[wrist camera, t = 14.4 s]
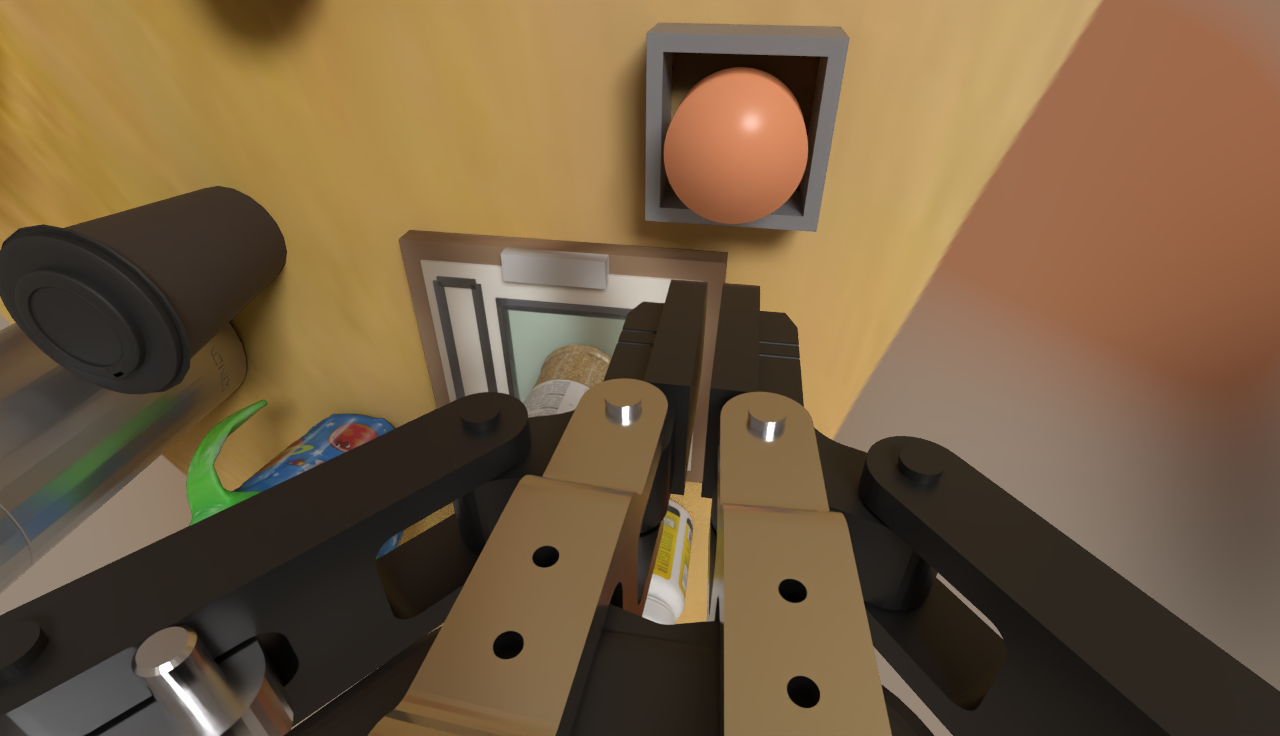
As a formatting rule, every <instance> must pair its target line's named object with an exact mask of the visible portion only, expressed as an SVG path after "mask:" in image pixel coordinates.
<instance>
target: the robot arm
mask: <svg viewBox="0 0 1280 736" xmlns="http://www.w3.org/2000/svg"><path fill="white" fill-rule="evenodd" d="M707 294H708V282H700V281H687V280H674V279H671V282H670V285H669V289H668V293H667V296H666V300H665V303H656V302H642V303H640V304H639V305H638V306H637V307H635V308H634V309H633V310H632V311H630V312H629V313H628V314H627V317H626V320H625V323H624V325H623V328H622V331H621V334H620V336H619V339H618V344H617V345H616V347H615V350H614V353H613V356H612V358H611V361H610V364H609V367H608V369H607V372H606V375H605V378H604V381H603V382H601V383H598V384H596V385H594V386H592V387H591V388H590V389H588V390H587V391H586V392H585V393H584V394H583V396H582V397H581V399H580V401H579V403H578V405H577V407H576V409H575V410H572V411H569V412H565V413H561V414H555V415H546V416H538V417H529V418H528V412H527V409H526V407H525V405H524V404H523V403H522V402H521V401H520V400H519V399H517V398H515V397H513V396H511V395H508V394H504V393H498V392H482V393H475V394H471V395H467V396H464V397H462V398H459V399H457V400H455V401H453V402H451V403H449V404H446V405H444V406H442V407H440V408H438V409H436V410H434V411H432V412H430V413H427V414H425V415H423V416H421V417H419V418H417V419H415V420H413V421H410V422H408V423H406V424H404V425H402V426H400V427H398V428H396V429H394V430H391V431H389V432H387V433H385V434H383V435H381V436H379V437H377V438H375V439H372V440H370V441H368V442H366V443H364V444H362V445H360V446H358V447H355V448H353V449H351V450H349V451H347V452H345V453H343V454H341V455H339V456H336V457H334V458H332V459H330V460H328V461H326V462H324V463H322V464H320V465H317V466H315V467H313V468H311V469H309V470H307V471H305V472H303V473H300V474H298V475H296V476H294V477H292V478H290V479H288V480H286V481H284V482H281V483H279V484H277V485H275V486H273V487H271V488H269V489H267V490H265V491H262V492H260V493H258V494H256V495H254V496H252V497H250V498H248V499H245V500H243V501H241V502H239V503H237V504H235V505H233V506H231V507H229V508H226V509H224V510H222V511H220V512H218V513H216V514H214V515H212V516H210V517H207V518H205V519H203V520H201V521H199V522H197V523H195V524H193V525H190V526H188V527H186V528H184V529H182V530H180V531H178V532H176V533H174V534H171V535H169V536H167V537H165V538H163V539H161V540H159V541H157V542H155V543H152V544H150V545H148V546H146V547H144V548H142V549H140V550H138V551H136V552H133V553H131V554H129V555H127V556H125V557H123V558H121V559H119V560H116V561H115V562H112V563H110V564H108V565H106V566H104V567H102V568H100V569H98V570H95V571H93V572H91V573H89V574H87V575H85V576H83V577H81V578H78V579H76V580H74V581H72V582H70V583H68V584H66V585H64V586H61V587H60V588H57V589H55V590H53V591H51V592H49V593H47V594H45V595H42V596H40V597H38V598H36V599H34V600H32V601H30V602H28V603H26V604H23V605H21V606H19V607H17V608H15V609H13V610H11V611H9V612H6V613H5V614H3V615H1V616H0V736H934V735H933V734H932V732H931V731H930V730H929V729H928V728H927V727H926V725H925V724H924V723H923V722H922V721H921V720H920V719H919V718H918V716H917V715H916V714H915V713H914V712H912V710H910V709H909V708H908V707H907V706H906V705H905V704H904V703H903V702H902V701H901V700H900V699H899V698H898V697H896V696H895V695H894V694H893V693H892V692H890V691H889V690H888V689H887V688H885V687H884V686H883V685H881V681H880V676H879V672H878V667H877V662H876V657H875V653H874V648H873V646H874V647H875V648H876V649H877V650H878V652H879V653H880V654H881V655H882V656H883V657H884V658H885V659H886V661H887V662H888V663H889V664H890V665H891V666H892V667H893V668H894V670H895V671H896V672H897V673H898V674H899V675H900V676H901V678H902V679H903V680H904V681H905V682H906V683H907V684H908V685H909V686H910V688H911V689H912V690H913V691H914V692H915V693H916V694H917V696H918V697H919V698H920V699H921V700H922V701H923V702H924V703H925V705H926V706H927V707H928V708H929V709H930V710H931V711H932V712H933V713H934V715H935V716H936V717H937V718H938V719H939V720H940V721H941V722H942V724H943V725H944V726H945V727H946V728H947V729H948V730H949V732H950V733H951V734H952V735H953V736H1280V691H1278V690H1277V689H1275V688H1274V687H1273V686H1272V685H1270V684H1269V683H1267V682H1266V681H1265V680H1263V679H1262V678H1261V677H1259V676H1258V675H1257V674H1255V673H1254V672H1252V671H1251V670H1250V669H1248V668H1247V667H1245V666H1244V665H1243V664H1241V663H1240V662H1239V661H1237V660H1236V659H1235V658H1233V657H1232V656H1231V655H1229V654H1228V653H1226V652H1225V651H1224V650H1222V649H1221V648H1220V647H1218V646H1217V645H1215V644H1214V643H1213V642H1211V641H1210V640H1209V639H1207V638H1206V637H1204V636H1203V635H1202V634H1200V633H1199V632H1198V631H1196V630H1195V629H1194V628H1192V627H1191V626H1189V625H1188V624H1187V623H1185V622H1184V621H1183V620H1181V619H1180V618H1179V617H1177V616H1176V615H1174V614H1173V613H1172V612H1170V611H1169V610H1168V609H1166V608H1165V607H1163V606H1162V605H1161V604H1159V603H1158V602H1157V601H1155V600H1154V599H1153V598H1151V597H1150V596H1148V595H1147V594H1146V593H1144V592H1143V591H1141V590H1140V589H1139V588H1137V587H1136V586H1135V585H1133V584H1132V583H1131V582H1129V581H1128V580H1126V579H1125V578H1124V577H1122V576H1121V575H1120V574H1118V573H1117V572H1116V571H1114V570H1113V569H1111V568H1110V567H1109V566H1107V565H1106V564H1105V563H1103V562H1102V561H1101V560H1099V559H1098V558H1096V557H1095V556H1093V555H1092V554H1091V553H1090V552H1088V551H1087V550H1085V549H1084V548H1083V547H1081V546H1080V545H1079V544H1077V543H1076V542H1075V541H1073V540H1072V539H1070V538H1069V537H1068V536H1066V535H1065V534H1064V533H1062V532H1061V531H1059V530H1058V529H1057V528H1055V527H1054V526H1053V525H1051V524H1050V523H1049V522H1047V521H1046V520H1044V519H1043V518H1042V517H1040V516H1039V515H1037V514H1036V513H1035V512H1033V511H1032V510H1031V509H1029V508H1028V507H1027V506H1025V505H1024V504H1023V503H1021V502H1020V501H1018V500H1017V499H1016V498H1014V497H1013V496H1012V495H1010V494H1009V493H1007V492H1006V491H1005V490H1003V489H1002V488H1000V487H999V486H998V485H997V484H995V483H994V482H992V481H991V480H990V479H988V478H987V477H985V476H984V475H983V474H981V473H980V472H979V471H977V470H976V469H975V468H973V467H972V466H970V465H969V464H968V463H966V462H965V461H964V460H962V459H961V458H960V457H958V456H957V455H955V454H954V453H953V452H951V451H949V450H948V449H946V448H944V447H942V446H940V445H938V444H936V443H934V442H931V441H928V440H924V439H921V438H916V437H908V436H895V437H889V438H885V439H882V440H880V441H878V442H876V443H875V444H874V445H872V446H871V448H870V449H869V451H868V453H866V452H863V451H860V450H857V449H854V448H851V447H848V446H845V445H842V444H840V443H837V442H835V441H833V440H831V439H829V438H828V437H826V436H824V435H823V434H821V433H820V432H819V431H818V430H816V429H815V428H814V425H813V421H812V417H811V416H810V414H809V412H808V411H807V410H806V409H805V408H804V404H803V392H802V379H801V367H800V360H799V358H800V354H799V347H798V345H799V342H798V329H797V327H796V326H795V324H794V323H793V322H792V321H791V319H790V318H789V317H788V316H787V315H786V313H779V312H767V311H760V286H754V285H741V284H728V283H723V287H722V295H721V304H720V312H719V320H718V328H717V336H716V345H715V353H714V361H713V369H712V378H711V386H710V397H709V409H708V421H707V433H706V445H705V457H704V469H703V481H702V494H701V497H705V498H712V508H711V519H710V529H709V544H708V588H707V622H696V623H685V624H674V625H665V624H659V623H656V622H654V621H651V620H649V619H646V618H644V617H642V615H643V611H644V607H645V603H646V599H647V595H648V591H649V587H650V582H651V578H652V574H653V570H654V566H655V562H656V558H657V554H658V550H659V546H660V542H661V538H662V534H663V527H664V517H665V515H666V513H667V510H668V505H669V499H670V494H679V495H684V489H685V482H686V475H687V469H688V462H689V455H690V448H691V441H692V434H693V428H694V421H695V414H696V407H697V400H698V393H699V386H700V379H701V371H702V361H703V350H704V336H705V322H706V308H707ZM246 370H247V367H246V356H245V353H244V350H243V346H242V343H241V342H240V340H239V338H238V336H237V334H236V332H235V330H234V329H233V327H232V326H231V325H230V323H229V322H228V323H227V324H226V325H225V326H224V327H223V328H222V329H221V330H220V331H219V332H218V333H217V334H216V335H215V336H214V337H213V338H212V339H211V340H210V341H209V342H208V343H207V344H206V345H205V346H204V347H203V348H202V349H201V350H200V351H199V352H198V353H196V354H195V355H194V356H193V357H192V358H191V359H190V369H189V370H188V372H187V374H186V376H185V377H184V379H183V381H182V382H181V383H180V384H178V385H176V386H175V387H173V388H171V389H169V390H167V391H165V392H156V393H148V394H125V393H119V392H115V391H111V390H108V389H105V388H102V387H99V386H97V385H94V384H92V383H90V382H88V381H86V380H84V379H82V378H80V377H78V376H76V375H75V374H73V373H71V372H70V371H68V370H66V369H65V368H64V367H62V366H61V365H59V364H58V363H56V362H55V361H54V360H52V359H51V358H50V357H49V356H48V355H46V354H45V353H44V352H43V351H42V350H40V349H39V348H38V347H37V346H36V345H35V344H34V343H33V342H32V341H31V340H30V339H29V338H28V337H27V335H26V334H25V333H24V332H23V331H22V330H21V329H20V327H19V326H18V325H17V323H14V324H12V325H10V326H8V327H7V328H5V329H3V330H1V331H0V594H1V593H2V592H3V591H4V590H5V589H6V588H8V587H9V586H10V585H11V584H12V583H13V582H15V581H16V580H17V579H18V578H19V577H20V576H21V575H23V574H24V573H25V571H27V570H28V569H29V568H30V567H31V566H33V565H34V564H35V563H36V562H37V561H38V560H39V559H41V558H42V557H43V556H44V555H45V554H46V553H48V552H49V551H50V550H51V549H52V548H53V547H55V546H56V545H57V544H58V543H59V542H60V541H61V540H62V539H64V538H65V537H66V536H67V535H68V534H70V533H71V532H72V531H73V530H74V529H75V528H77V527H78V526H79V525H80V524H81V523H82V522H84V520H86V519H87V518H88V517H89V516H90V515H92V514H93V513H94V512H95V511H96V510H97V509H99V508H100V507H101V506H102V505H103V504H104V503H105V502H107V501H108V500H109V499H110V498H111V497H112V496H114V495H115V494H116V493H117V492H118V491H119V490H120V489H122V488H123V487H124V486H125V485H126V484H128V483H129V482H130V481H131V480H132V479H133V478H134V477H136V476H137V475H138V474H139V473H140V472H141V471H143V470H144V469H145V468H146V467H147V466H148V465H150V464H151V463H152V462H153V461H154V460H155V459H156V458H158V457H159V456H160V455H161V454H162V453H163V452H165V451H166V450H167V449H168V448H169V447H170V446H172V445H173V444H174V443H175V442H176V441H177V440H178V439H180V438H181V437H182V436H183V435H184V434H185V433H187V432H188V431H189V430H190V429H191V428H193V427H194V426H195V425H196V424H197V423H198V422H199V421H201V420H202V419H203V418H204V417H205V416H206V415H208V414H209V413H210V412H211V411H212V410H213V409H215V408H216V407H217V406H218V405H219V404H220V403H221V402H223V401H224V400H225V399H226V398H227V397H228V396H230V395H231V394H232V393H233V392H234V391H235V390H236V389H238V388H239V387H240V385H241V383H242V382H243V380H244V378H245V374H246ZM451 502H453V505H454V510H455V514H453V515H452V516H450V517H448V518H446V519H445V520H443V521H441V522H440V523H438V524H436V525H434V526H433V527H431V528H429V529H428V530H426V531H424V532H423V533H421V534H419V535H417V536H416V537H414V538H412V539H411V540H409V541H407V542H406V543H404V544H402V545H400V546H399V547H397V548H395V549H394V550H392V551H390V552H389V553H387V554H385V555H383V556H382V557H380V558H378V559H376V556H377V554H378V552H379V550H380V549H381V547H382V546H383V545H384V544H385V543H386V542H387V541H388V540H389V539H390V538H391V537H393V536H394V535H396V534H397V533H399V532H401V531H403V530H404V529H406V528H408V527H410V526H411V525H413V524H415V523H417V522H418V521H420V520H422V519H424V518H425V517H427V516H429V515H431V514H432V513H434V512H436V511H438V510H439V509H441V508H443V507H444V506H446V505H448V504H450V503H451ZM937 573H939V574H941V576H943V577H944V578H945V579H946V580H947V581H948V582H949V583H950V584H951V585H952V586H954V587H955V588H956V589H957V590H958V591H959V592H960V593H961V594H962V595H963V596H964V597H966V598H967V599H968V600H969V601H970V602H971V603H972V604H973V605H974V606H975V607H976V608H978V609H979V610H980V611H981V612H982V613H983V614H984V615H985V616H986V617H987V618H988V619H989V620H990V621H991V622H992V623H993V624H994V625H995V626H996V627H997V629H998V630H999V632H1000V634H1001V635H1002V637H1003V639H1004V640H1003V639H1002V638H1001V637H1000V636H999V635H998V634H996V633H995V632H994V631H993V630H992V629H991V628H990V627H989V626H988V625H987V624H986V623H985V622H983V621H982V620H981V619H980V618H979V617H978V616H977V615H976V614H975V613H974V612H973V611H972V610H971V609H970V608H968V607H967V606H966V605H965V604H964V603H963V602H962V601H961V600H960V599H959V598H958V597H957V596H956V595H954V594H953V593H952V592H951V591H950V590H949V589H948V588H947V587H946V586H945V585H944V584H942V582H940V581H939V580H938V579H937V578H936V575H937ZM442 623H444V624H443V626H441V627H440V628H438V629H436V630H434V631H433V632H431V631H432V630H433V629H435V628H437V627H438V626H439V625H441V624H442ZM429 632H431V633H429ZM428 633H429V634H428ZM426 634H427V635H426ZM387 661H388V662H387ZM384 663H385V664H384ZM380 666H381V667H380ZM377 668H378V669H377ZM374 670H375V671H374ZM373 671H374V672H373ZM371 672H372V673H371ZM370 673H371V674H370ZM367 675H368V676H367ZM365 676H366V677H365ZM364 677H365V678H364ZM363 678H364V679H363ZM361 679H362V680H361ZM360 680H361V681H360ZM358 681H359V682H358ZM357 682H358V683H357ZM355 683H357V684H355ZM354 684H355V685H354ZM353 685H354V686H353ZM351 686H353V687H351ZM350 687H351V688H350ZM348 688H350V689H348ZM346 689H348V690H347V691H346V692H344V691H345V690H346ZM342 692H344V693H343V694H341V693H342ZM339 694H341V695H340V696H338V695H339ZM337 696H338V697H337ZM335 697H337V698H336V699H334V698H335ZM332 699H334V700H333V701H331V700H332ZM329 701H331V702H330V703H329V704H327V705H326V706H324V705H325V704H326V703H328V702H329ZM322 706H324V707H323V708H322V709H320V710H319V711H318V712H316V713H314V714H313V715H312V716H310V717H309V718H308V719H306V720H305V721H303V722H302V723H300V724H299V725H298V726H296V727H295V728H293V729H292V730H291V728H292V727H293V726H295V725H296V724H297V723H299V722H300V721H302V720H303V719H305V718H306V717H308V716H309V715H311V714H312V713H313V712H315V711H316V710H318V709H319V708H321V707H322Z"/></svg>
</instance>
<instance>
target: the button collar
mask: <svg viewBox="0 0 1280 736" xmlns="http://www.w3.org/2000/svg"><path fill="white" fill-rule="evenodd" d="M848 43H849V37H848V35H847V34H846V33H845V32H844V30H843V29H842V28H841V27H817V26H773V25H730V24H687V23H658V24H656V25H655V26H654V27H653V28H652V29H650V30H649V31H648V32H647V59H646V180H645V221H658V222H674V223H689V224H705V225H720V226H735V227H751V228H766V229H782V230H797V231H813V232H816V230H817V224H818V219H819V213H820V207H821V201H822V195H823V189H824V184H825V178H826V172H827V166H828V160H829V154H830V148H831V143H832V137H833V131H834V125H835V119H836V113H837V108H838V102H839V96H840V90H841V84H842V78H843V73H844V67H845V61H846V55H847V49H848ZM673 52H686V53H721V54H755V55H790V56H820V62H819V68H818V75H817V82H816V88H815V95H814V102H813V108H812V115H811V122H810V128H809V135H808V158H807V163H806V168H805V171H804V174H803V177H802V182H801V188H800V192H799V191H794V193H793V194H792V195H791V197H790V198H789V199H788V200H787V201H786V202H785V203H784V204H783V205H782V206H781V207H780V208H778V209H777V210H775V211H774V212H773V213H771V214H769V215H767V216H765V217H763V218H761V219H758V220H755V221H752V222H748V223H741V224H725V223H719V222H715V221H711V220H708V219H706V218H703V217H702V216H700V215H698V214H696V213H695V212H693V211H692V210H691V209H689V208H688V207H687V206H686V205H685V204H684V203H683V202H682V201H681V200H680V199H679V197H678V196H677V195H676V193H675V192H674V190H673V188H672V187H671V184H669V180H668V177H667V174H666V170H665V164H664V143H665V139H666V134H667V131H668V128H669V125H670V123H671V90H672V56H673Z"/></svg>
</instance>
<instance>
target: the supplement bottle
mask: <svg viewBox="0 0 1280 736" xmlns="http://www.w3.org/2000/svg"><path fill="white" fill-rule="evenodd" d="M692 533H693V523H692V519H691V517H690V515H689V513H688V512H687V511H686V510H685V509H684V508H683V507H682V506H680V505H679V504H677V503H676V502H674V501H672V500H670V499H669V505H668V510H667V513H666V515H665V517H664V527H663V534H662V538H661V542H660V546H659V550H658V554H657V558H656V562H655V566H654V570H653V574H652V578H651V582H650V587H649V591H648V595H647V599H646V603H645V607H644V611H643V615H642V617H644V618H646V619H649V620H651V621H654V622H656V623H659V624H665V625H674V624H676V620H677V619H678V617H679V616H680V615H681V613H682V611H683V608H684V603H685V594H686V585H687V577H688V568H689V560H690V551H691V542H692Z"/></svg>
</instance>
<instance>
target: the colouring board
mask: <svg viewBox="0 0 1280 736" xmlns="http://www.w3.org/2000/svg"><path fill="white" fill-rule="evenodd" d="M399 243H400V248H401V252H402V256H403V261H404V265H405V270H406V274H407V278H408V283H409V287H410V292H411V296H412V300H413V305H414V309H415V313H416V318H417V322H418V327H419V331H420V335H421V340H422V344H423V349H424V353H425V357H426V362H427V366H428V371H429V375H430V379H431V384H432V388H433V392H434V397H435V401H436V406H437V409H438V408H440V407H442V406H444V405H446V404H449V403H451V402H453V401H455V400H457V399H459V398H462V397H464V396H467V395H471V394H475V393H482V392H498V393H504V394H508V395H511V396H513V397H515V398H517V399H519V400H520V401H521V402H522V403H524V401H525V399H526V398H527V396H528V394H529V393H530V392H531V391H532V389H533V387H534V385H535V384H536V382H537V380H538V378H539V376H540V374H541V368H542V366H543V364H544V362H545V359H546V358H547V357H548V356H549V355H550V354H551V353H552V352H553V351H554V350H556V349H558V348H560V347H564V346H567V345H570V344H577V345H586V346H591V347H594V348H597V349H599V350H600V351H602V352H605V353H606V354H608V355H609V356H610V358H612V356H613V353H614V350H615V347H616V345H617V344H618V339H619V336H620V334H621V331H622V328H623V325H624V323H625V320H626V317H627V314H628V313H629V312H630V311H632V310H633V309H634V308H635V307H637V306H638V305H639V304H640V303H642V302H656V303H665V300H666V296H667V293H668V289H669V285H670V282H671V279H674V280H687V281H700V282H708V294H707V308H706V322H705V336H704V350H703V361H702V371H701V379H700V386H699V393H698V400H697V407H696V414H695V421H694V428H693V434H692V441H691V448H690V455H689V462H688V469H687V475H686V481H691V482H699V483H702V481H703V469H704V457H705V445H706V433H707V421H708V409H709V397H710V386H711V378H712V369H713V361H714V353H715V345H716V336H717V328H718V320H719V312H720V304H721V295H722V287H723V283H725V278H726V267H727V255H728V252H715V251H701V250H686V249H672V248H658V247H644V246H629V245H615V244H601V243H587V242H572V241H558V240H544V239H530V238H515V237H501V236H487V235H473V234H458V233H444V232H430V231H416V230H409V231H408V232H407V233H406V234H405V235H403V236H402V237H401V238H400V239H399Z"/></svg>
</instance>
